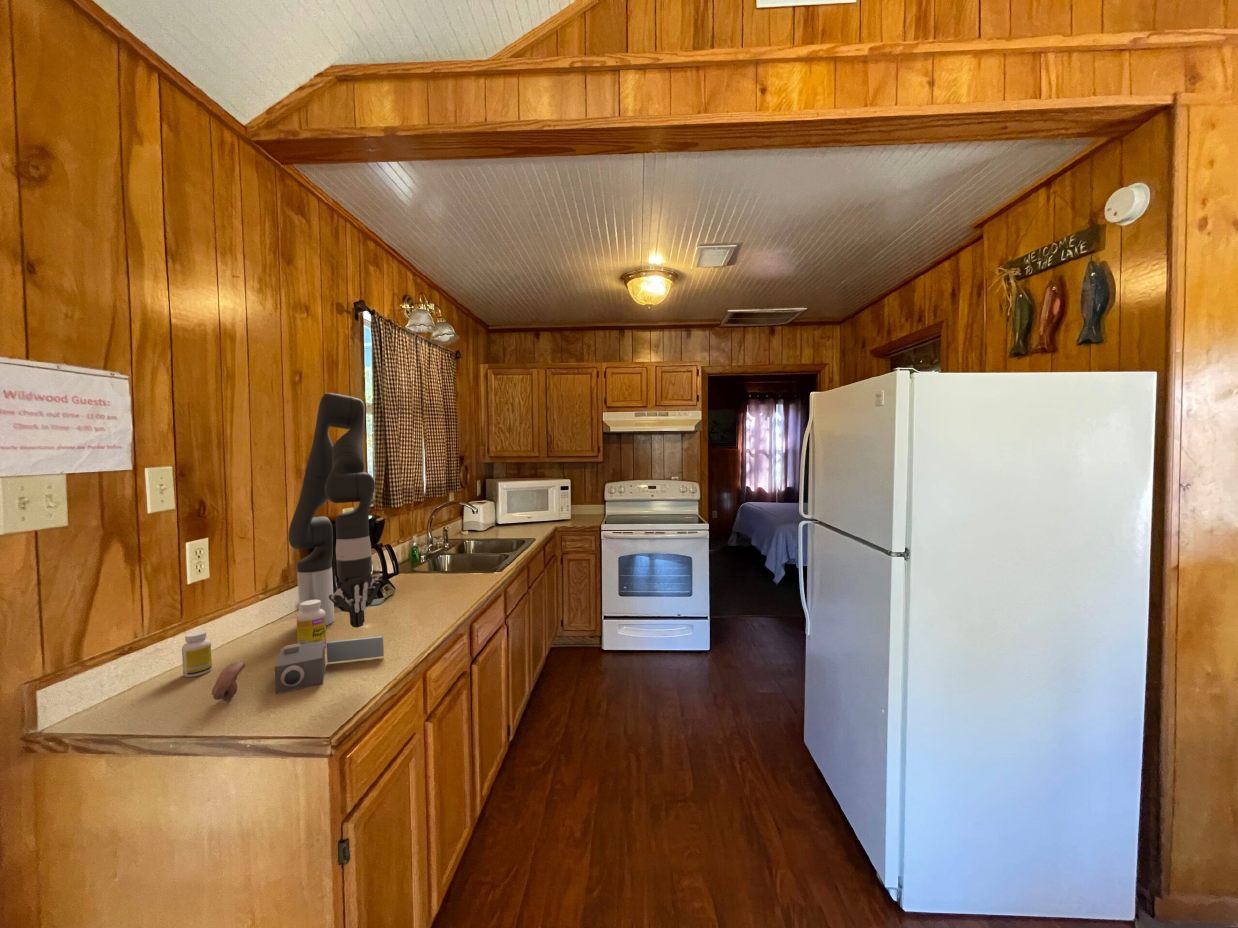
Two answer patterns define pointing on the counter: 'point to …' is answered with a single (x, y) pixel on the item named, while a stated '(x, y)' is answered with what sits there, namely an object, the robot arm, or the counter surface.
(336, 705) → the counter surface
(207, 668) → the supplement bottle
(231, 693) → the mushroom
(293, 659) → the camera box
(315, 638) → the supplement bottle
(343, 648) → the door
